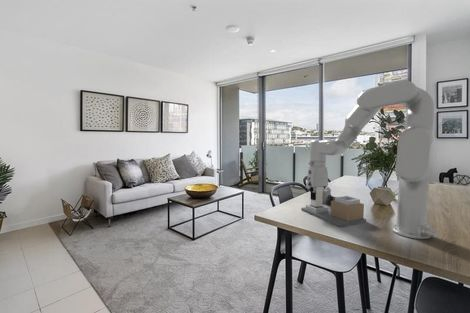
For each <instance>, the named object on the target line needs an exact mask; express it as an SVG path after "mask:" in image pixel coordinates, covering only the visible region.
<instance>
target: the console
mask: <svg viewBox="0 0 470 313" xmlns="http://www.w3.org/2000/svg"><path fill="white" fill-rule="evenodd" d="M334 197H335V200H334V201H331V207H330V206H327V205H325V203H323V204H322V206H317V207H316V206H313V205H311V203H310V204H305V206H304V207H301V211H303V212H304V213H306V214H309V215H311V216H314V217H316V218H318V219H321V220H323V221H324V222H325V221H326V222H328V223H330V224H332V225H335V226H336V227H339V228H343V227H348V226H352V225H358V224H363V223H366V222H367V218H365V217H364V211H365V203H363V202H361V198H357V197H353V196H350V195H342V196H334Z"/></svg>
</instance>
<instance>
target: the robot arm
mask: <svg viewBox="0 0 470 313" xmlns="http://www.w3.org/2000/svg"><path fill="white" fill-rule="evenodd" d="M394 105H400V106H403V107H405V109H406V116H405V128H404V130H403V131H402V132H401V133H400V135H399V137H398V141H397V150H396V157H395V158H396V161H395V173H396V175H397V176H398V177H399V180H398V189H397V190H398V192H397V211H396V212H397V214H396V224H394V225H392V226H391V231H393V232H394V233H395V234H397V235H400V236H403V237H405V238H409V239H410V238H411V239H418V240H426V239H430V238H431V237H433V238H437V237H438V231H437V230H435V229H431V228H430V224H427V220H428V219H427V218H428V204H429V190H430V188H429V186H430V177H431V165H430V162H429V161H430V153H431V152H430V151H431V146H432V143H433V129H434V118H435V102H434V99H433V97H432V96H431V95H430V94H429V92H427V91H426V90H424V89H423V88H420V87H419V86H417V85H416V84H415V83H413V82H412V81H409V80H406V79H403V80H398V81H393V82H389V83H385V84H383V85H379V86H375V87H370V88H367V89H364V90H363V91H362V92H360V93H359V95H358V96H357V99H356V106H355V107H354V108H353V109H352V110H351V111H350V113H349V114H348V115H347V116H346V118H345V120H344V122H345V123H344V127H343V129H342V131H340V134H339V135H338V136H337V137H336V138H334V139H328V140H327V139H312V140H311V141H310V149H309V150H310V151H309V152H310V153H309V154H310V155H309V161H308V165H309V167H308V171H307V181H306V184H305V188H306V189H307V190H308V191H309V192H310V200H311V199H312V200H316V193H315V189H316V187H322V186H323V192H324V189H325V188H326V187H328V186H329V175H328V167H327V166H326V165H327V163H326V160H327V159H326V158H327V156H337V155H341V154H343V153H344V152H345V151H346V150H348V148H350V147H351V145H352V144H353V143H354V142H355V141H356V139H357V137H358V136H360V133H361V132H362V130H363V129H364V128H365V126H366V125H368V123H369V122H371V120H372V119H373V118H374V117H375V116H376V115H377V113H378V112H379V111H380V110H381V109H382V108H385V107H390V106H394ZM312 188H313V189H312ZM322 199H323V197H322Z"/></svg>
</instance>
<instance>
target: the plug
mask: <svg viewBox="0 0 470 313" xmlns="http://www.w3.org/2000/svg"><path fill="white" fill-rule="evenodd" d="M312 189H313V188H312ZM315 193H316V200H312V199H311V198H310V204H311V205H313V206H316V207H317V206H322V205H323V203H322V197H323V186H322V187H316V189H315Z"/></svg>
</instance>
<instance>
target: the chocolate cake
mask: <svg viewBox="0 0 470 313" xmlns="http://www.w3.org/2000/svg"><path fill="white" fill-rule="evenodd" d="M335 197H336V196H332V194H330V193H329V195H328V196H327V198H326V201H325V203H324V204H325V205H327V206H330V207H331V201H334V200H335Z"/></svg>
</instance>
